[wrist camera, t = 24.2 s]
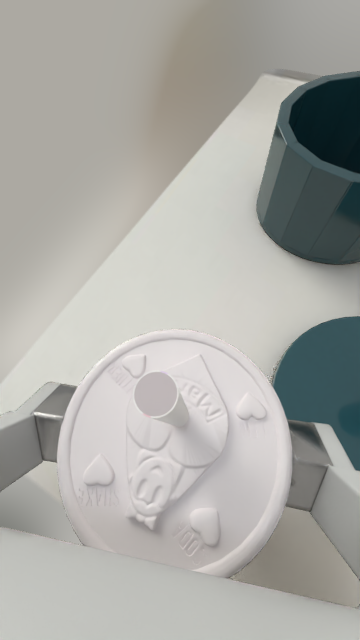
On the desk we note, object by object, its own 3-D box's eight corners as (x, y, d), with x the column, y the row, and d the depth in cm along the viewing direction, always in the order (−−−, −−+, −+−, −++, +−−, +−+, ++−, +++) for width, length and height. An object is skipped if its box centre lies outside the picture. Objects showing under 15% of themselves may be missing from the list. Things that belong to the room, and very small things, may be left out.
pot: (276, 273, 22) (311, 199, 15) (243, 174, 27) (259, 84, 20) (426, 253, 21) (533, 168, 14) (364, 157, 27) (421, 61, 20)
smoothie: (250, 402, 16) (455, 286, 3) (220, 518, 14) (507, 1554, 1) (158, 368, 17) (51, 188, 5) (116, 469, 15) (-330, 667, 2)
